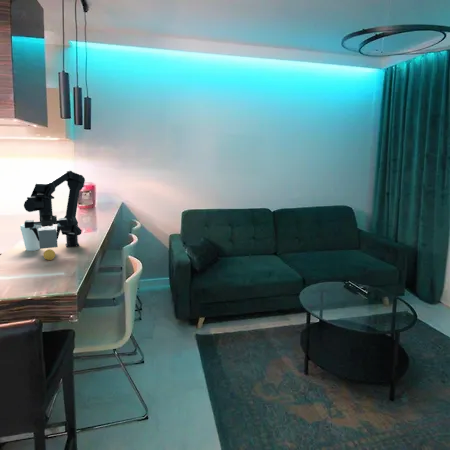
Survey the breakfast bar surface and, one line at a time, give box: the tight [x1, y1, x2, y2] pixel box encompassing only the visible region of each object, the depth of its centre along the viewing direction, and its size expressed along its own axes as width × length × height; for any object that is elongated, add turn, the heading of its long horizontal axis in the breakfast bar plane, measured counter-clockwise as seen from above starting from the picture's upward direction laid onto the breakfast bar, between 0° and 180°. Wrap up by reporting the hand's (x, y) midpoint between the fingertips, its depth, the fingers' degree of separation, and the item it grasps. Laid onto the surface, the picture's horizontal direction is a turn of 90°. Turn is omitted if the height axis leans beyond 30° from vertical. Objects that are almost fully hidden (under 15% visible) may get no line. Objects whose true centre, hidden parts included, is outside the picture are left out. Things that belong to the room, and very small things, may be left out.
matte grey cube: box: [38, 226, 58, 250], centre depth 168 cm, size 8×8×9 cm
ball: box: [43, 248, 56, 261], centre depth 161 cm, size 5×5×5 cm
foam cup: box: [19, 223, 43, 252], centre depth 177 cm, size 10×9×13 cm
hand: (48, 240), depth 169 cm, fingers closed on matte grey cube, 8 cm apart
